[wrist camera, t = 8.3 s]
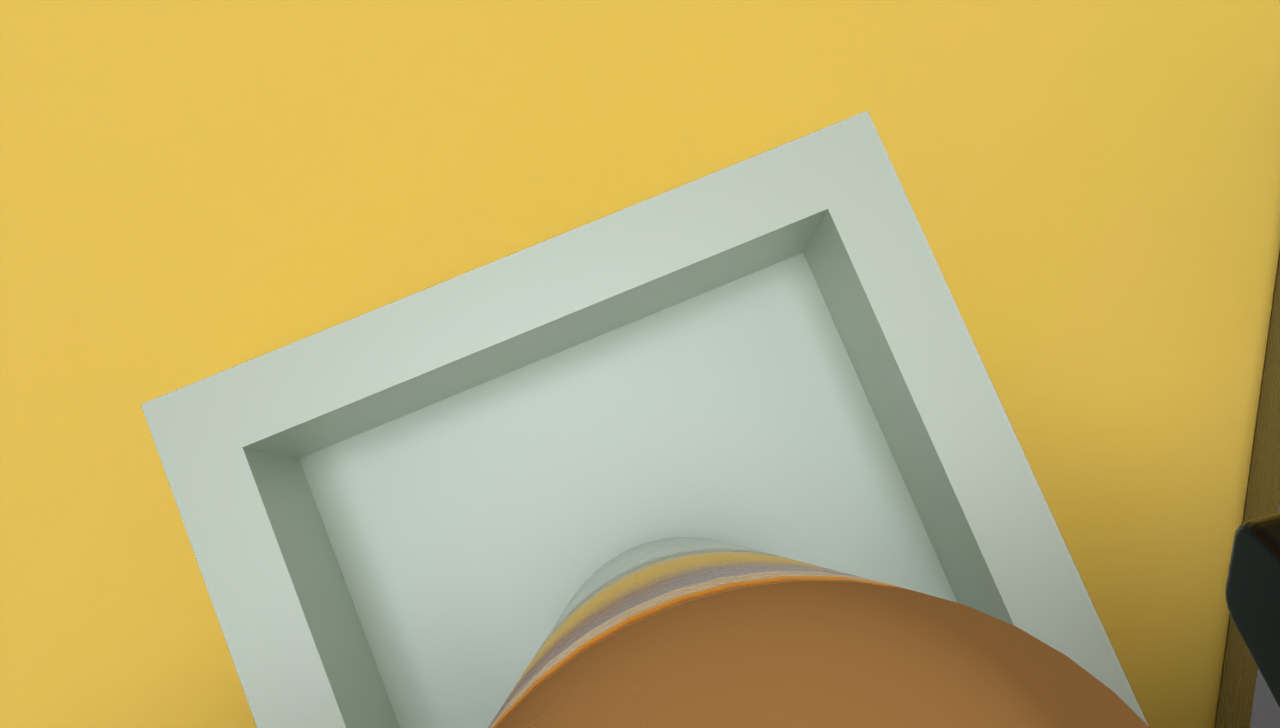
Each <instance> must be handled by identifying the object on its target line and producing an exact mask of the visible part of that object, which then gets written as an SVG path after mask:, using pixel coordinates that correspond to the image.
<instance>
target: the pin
mask: <svg viewBox="0 0 1280 728" xmlns="http://www.w3.org/2000/svg"><path fill="white" fill-rule="evenodd" d="M488 728H1150V727H1149V726H1148V725H1147V724H1146V723H1145V722H1144V721H1143V720H1142V719H1141V718H1140V717H1139V716H1138V715H1137V714H1136V713H1135V712H1134V711H1133V710H1132V709H1131V708H1130V707H1129V706H1128V705H1127V704H1126V703H1125V702H1124V701H1123V700H1122V699H1121V698H1120V697H1119V696H1118V695H1117V694H1116V693H1114V692H1113V691H1112V690H1111V689H1109V688H1108V687H1107V686H1105V685H1104V684H1103V683H1101V682H1100V681H1099V680H1098V679H1096V678H1095V677H1094V676H1092V675H1091V674H1090V673H1088V672H1087V671H1086V670H1085V669H1083V668H1082V667H1081V666H1079V665H1078V664H1077V663H1076V662H1074V661H1073V660H1072V659H1070V658H1069V657H1068V656H1066V655H1064V654H1063V653H1061V652H1059V651H1057V650H1056V649H1054V648H1052V647H1051V646H1049V645H1047V644H1045V643H1044V642H1042V641H1040V640H1039V639H1037V638H1035V637H1033V636H1032V635H1030V634H1028V633H1027V632H1025V631H1023V630H1022V629H1020V628H1018V627H1016V626H1014V625H1011V624H1009V623H1007V622H1004V621H1002V620H999V619H997V618H995V617H992V616H990V615H988V614H985V613H983V612H981V611H978V610H976V609H973V608H971V607H969V606H966V605H964V604H960V603H957V602H953V601H950V600H946V599H942V598H939V597H935V596H931V595H928V594H924V593H921V592H917V591H913V590H910V589H906V588H902V587H898V586H894V585H890V584H886V583H883V582H879V581H875V580H871V579H867V578H863V577H859V576H855V575H851V574H847V573H843V572H839V571H836V570H832V569H828V568H824V567H820V566H816V565H812V564H808V563H804V562H800V561H796V560H793V559H789V558H785V557H781V556H777V555H773V554H769V553H765V552H761V551H757V550H753V549H749V548H746V547H742V546H738V545H734V544H730V543H726V542H722V541H718V540H714V539H706V538H699V537H676V538H668V539H660V540H657V541H653V542H649V543H645V544H642V545H640V546H637V547H635V548H632V549H630V550H627V551H625V552H624V553H622V554H620V555H618V556H617V557H615V558H613V559H611V560H610V561H609V562H607V563H606V564H605V565H603V566H602V567H601V568H599V569H598V570H597V571H596V572H595V573H594V574H593V575H592V576H591V577H590V578H589V579H588V580H587V581H586V582H585V583H584V584H583V585H582V586H581V587H580V589H579V590H578V591H577V592H576V594H575V595H574V596H573V598H572V599H571V600H570V602H569V603H568V605H567V607H566V608H565V610H564V611H563V613H562V614H561V616H560V617H559V619H558V620H557V622H556V624H555V625H554V627H553V628H552V630H551V631H550V633H549V634H548V636H547V637H546V639H545V641H544V642H543V644H542V645H541V647H540V648H539V650H538V651H537V653H536V654H535V656H534V658H533V659H532V661H531V662H530V664H529V665H528V667H527V668H526V670H525V671H524V673H523V675H522V676H521V678H520V679H519V681H518V682H517V684H516V685H515V687H514V688H513V690H512V692H511V693H510V695H509V696H508V698H507V699H506V701H505V702H504V704H503V705H502V707H501V709H500V710H499V712H498V713H497V715H496V716H495V718H494V719H493V721H492V722H491V724H490V726H489V727H488Z"/></svg>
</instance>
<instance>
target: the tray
mask: <svg viewBox="0 0 1280 728" xmlns="http://www.w3.org/2000/svg"><path fill="white" fill-rule="evenodd" d="M141 406H142V409H143V412H144V415H145V418H146V420H147V423H148V426H149V429H150V431H151V434H152V437H153V440H154V443H155V445H156V448H157V451H158V454H159V456H160V459H161V462H162V465H163V468H164V470H165V473H166V476H167V479H168V481H169V484H170V487H171V490H172V493H173V495H174V498H175V501H176V504H177V506H178V509H179V512H180V515H181V518H182V520H183V523H184V526H185V529H186V531H187V534H188V537H189V540H190V543H191V545H192V548H193V551H194V554H195V556H196V559H197V562H198V565H199V568H200V570H201V573H202V576H203V579H204V581H205V584H206V587H207V590H208V593H209V595H210V598H211V601H212V604H213V606H214V609H215V612H216V615H217V617H218V620H219V623H220V626H221V629H222V631H223V634H224V637H225V640H226V642H227V645H228V648H229V651H230V654H231V656H232V659H233V662H234V665H235V667H236V670H237V673H238V676H239V679H240V681H241V684H242V687H243V690H244V692H245V695H246V698H247V701H248V704H249V706H250V709H251V712H252V715H253V717H254V720H255V723H256V726H257V728H488V727H489V726H490V724H491V722H492V721H493V719H494V718H495V716H496V715H497V713H498V712H499V710H500V709H501V707H502V705H503V704H504V702H505V701H506V699H507V698H508V696H509V695H510V693H511V692H512V690H513V688H514V687H515V685H516V684H517V682H518V681H519V679H520V678H521V676H522V675H523V673H524V671H525V670H526V668H527V667H528V665H529V664H530V662H531V661H532V659H533V658H534V656H535V654H536V653H537V651H538V650H539V648H540V647H541V645H542V644H543V642H544V641H545V639H546V637H547V636H548V634H549V633H550V631H551V630H552V628H553V627H554V625H555V624H556V622H557V620H558V619H559V617H560V616H561V614H562V613H563V611H564V610H565V608H566V607H567V605H568V603H569V602H570V600H571V599H572V598H573V596H574V595H575V594H576V592H577V591H578V590H579V589H580V587H581V586H582V585H583V584H584V583H585V582H586V581H587V580H588V579H589V578H590V577H591V576H592V575H593V574H594V573H595V572H596V571H597V570H598V569H599V568H601V567H602V566H603V565H605V564H606V563H607V562H609V561H610V560H611V559H613V558H615V557H617V556H618V555H620V554H622V553H624V552H625V551H627V550H630V549H632V548H635V547H637V546H640V545H642V544H645V543H649V542H653V541H657V540H660V539H668V538H676V537H699V538H706V539H714V540H718V541H722V542H726V543H730V544H734V545H738V546H742V547H746V548H749V549H753V550H757V551H761V552H765V553H769V554H773V555H777V556H781V557H785V558H789V559H793V560H796V561H800V562H804V563H808V564H812V565H816V566H820V567H824V568H828V569H832V570H836V571H839V572H843V573H847V574H851V575H855V576H859V577H863V578H867V579H871V580H875V581H879V582H883V583H886V584H890V585H894V586H898V587H902V588H906V589H910V590H913V591H917V592H921V593H924V594H928V595H931V596H935V597H939V598H942V599H946V600H950V601H953V602H957V603H960V604H964V605H966V606H969V607H971V608H973V609H976V610H978V611H981V612H983V613H985V614H988V615H990V616H992V617H995V618H997V619H999V620H1002V621H1004V622H1007V623H1009V624H1011V625H1014V626H1016V627H1018V628H1020V629H1022V630H1023V631H1025V632H1027V633H1028V634H1030V635H1032V636H1033V637H1035V638H1037V639H1039V640H1040V641H1042V642H1044V643H1045V644H1047V645H1049V646H1051V647H1052V648H1054V649H1056V650H1057V651H1059V652H1061V653H1063V654H1064V655H1066V656H1068V657H1069V658H1070V659H1072V660H1073V661H1074V662H1076V663H1077V664H1078V665H1079V666H1081V667H1082V668H1083V669H1085V670H1086V671H1087V672H1088V673H1090V674H1091V675H1092V676H1094V677H1095V678H1096V679H1098V680H1099V681H1100V682H1101V683H1103V684H1104V685H1105V686H1107V687H1108V688H1109V689H1111V690H1112V691H1113V692H1114V693H1116V694H1117V695H1118V696H1119V697H1120V698H1121V699H1122V700H1123V701H1124V702H1125V703H1126V704H1127V705H1128V706H1129V707H1130V708H1131V709H1132V710H1133V711H1134V712H1135V713H1136V714H1137V715H1138V716H1139V717H1140V718H1141V719H1142V720H1143V721H1144V722H1145V723H1146V724H1147V722H1146V719H1145V717H1144V715H1143V713H1142V711H1141V708H1140V706H1139V704H1138V702H1137V700H1136V697H1135V695H1134V693H1133V691H1132V689H1131V686H1130V684H1129V682H1128V680H1127V678H1126V676H1125V673H1124V671H1123V669H1122V667H1121V665H1120V662H1119V660H1118V658H1117V656H1116V654H1115V651H1114V649H1113V647H1112V645H1111V643H1110V640H1109V638H1108V636H1107V634H1106V632H1105V630H1104V627H1103V625H1102V623H1101V621H1100V619H1099V616H1098V614H1097V612H1096V610H1095V608H1094V605H1093V603H1092V601H1091V599H1090V597H1089V594H1088V592H1087V590H1086V588H1085V586H1084V584H1083V581H1082V579H1081V577H1080V575H1079V573H1078V570H1077V568H1076V566H1075V564H1074V562H1073V559H1072V557H1071V555H1070V553H1069V551H1068V548H1067V546H1066V544H1065V542H1064V540H1063V538H1062V535H1061V533H1060V531H1059V529H1058V527H1057V524H1056V522H1055V520H1054V518H1053V516H1052V513H1051V511H1050V509H1049V507H1048V505H1047V502H1046V500H1045V498H1044V496H1043V494H1042V492H1041V489H1040V487H1039V485H1038V483H1037V481H1036V478H1035V476H1034V474H1033V472H1032V470H1031V467H1030V465H1029V463H1028V461H1027V459H1026V457H1025V454H1024V452H1023V450H1022V448H1021V446H1020V443H1019V441H1018V439H1017V437H1016V435H1015V432H1014V430H1013V428H1012V426H1011V424H1010V421H1009V419H1008V417H1007V415H1006V413H1005V411H1004V408H1003V406H1002V404H1001V402H1000V400H999V397H998V395H997V393H996V391H995V389H994V386H993V384H992V382H991V380H990V378H989V375H988V373H987V371H986V369H985V367H984V365H983V362H982V360H981V358H980V356H979V354H978V351H977V349H976V347H975V345H974V343H973V340H972V338H971V336H970V334H969V332H968V329H967V327H966V325H965V323H964V321H963V319H962V316H961V314H960V312H959V310H958V308H957V305H956V303H955V301H954V299H953V297H952V294H951V292H950V290H949V288H948V286H947V283H946V281H945V279H944V277H943V275H942V273H941V270H940V268H939V266H938V264H937V262H936V259H935V257H934V255H933V253H932V251H931V248H930V246H929V244H928V242H927V240H926V237H925V235H924V233H923V231H922V229H921V227H920V224H919V222H918V220H917V218H916V216H915V213H914V211H913V209H912V207H911V205H910V202H909V200H908V198H907V196H906V194H905V192H904V189H903V187H902V185H901V183H900V181H899V178H898V176H897V174H896V172H895V170H894V167H893V165H892V163H891V161H890V159H889V156H888V154H887V152H886V150H885V148H884V146H883V143H882V141H881V139H880V137H879V135H878V132H877V130H876V128H875V126H874V124H873V121H872V119H871V117H870V115H869V113H868V111H865V112H863V113H860V114H858V115H855V116H853V117H850V118H848V119H846V120H843V121H841V122H838V123H836V124H833V125H831V126H828V127H826V128H823V129H821V130H818V131H816V132H813V133H811V134H808V135H806V136H803V137H801V138H799V139H796V140H794V141H791V142H789V143H786V144H784V145H781V146H779V147H776V148H774V149H771V150H769V151H766V152H764V153H761V154H759V155H757V156H754V157H752V158H749V159H747V160H744V161H742V162H739V163H737V164H734V165H732V166H729V167H727V168H724V169H722V170H719V171H717V172H714V173H712V174H710V175H707V176H705V177H702V178H700V179H697V180H695V181H692V182H690V183H687V184H685V185H682V186H680V187H677V188H675V189H672V190H670V191H667V192H665V193H663V194H660V195H658V196H655V197H653V198H650V199H648V200H645V201H643V202H640V203H638V204H635V205H633V206H630V207H628V208H625V209H623V210H620V211H618V212H616V213H613V214H611V215H608V216H606V217H603V218H601V219H598V220H596V221H593V222H591V223H588V224H586V225H583V226H581V227H578V228H576V229H573V230H571V231H569V232H566V233H564V234H561V235H559V236H556V237H554V238H551V239H549V240H546V241H544V242H541V243H539V244H536V245H534V246H531V247H529V248H527V249H524V250H522V251H519V252H517V253H514V254H512V255H509V256H507V257H504V258H502V259H499V260H497V261H494V262H492V263H489V264H487V265H484V266H482V267H480V268H477V269H475V270H472V271H470V272H467V273H465V274H462V275H460V276H457V277H455V278H452V279H450V280H447V281H445V282H442V283H440V284H437V285H435V286H433V287H430V288H428V289H425V290H423V291H420V292H418V293H415V294H413V295H410V296H408V297H405V298H403V299H400V300H398V301H395V302H393V303H390V304H388V305H386V306H383V307H381V308H378V309H376V310H373V311H371V312H368V313H366V314H363V315H361V316H358V317H356V318H353V319H351V320H348V321H346V322H343V323H341V324H339V325H336V326H334V327H331V328H329V329H326V330H324V331H321V332H319V333H316V334H314V335H311V336H309V337H306V338H304V339H301V340H299V341H296V342H294V343H292V344H289V345H287V346H284V347H282V348H279V349H277V350H274V351H272V352H269V353H267V354H264V355H262V356H259V357H257V358H254V359H252V360H250V361H247V362H245V363H242V364H240V365H237V366H235V367H232V368H230V369H227V370H225V371H222V372H220V373H217V374H215V375H212V376H210V377H207V378H205V379H203V380H200V381H198V382H195V383H193V384H190V385H188V386H185V387H183V388H180V389H178V390H175V391H173V392H170V393H168V394H165V395H163V396H160V397H158V398H156V399H153V400H151V401H148V402H146V403H143V404H141ZM1147 725H1148V724H1147Z"/></svg>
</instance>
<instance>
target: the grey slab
mask: <svg viewBox="0 0 1280 728" xmlns="http://www.w3.org/2000/svg"><path fill="white" fill-rule="evenodd" d="M1276 513H1280V258H1279V265H1278V273H1277V280H1276V287H1275V295H1274V302H1273V309H1272V316H1271V324H1270V331H1269V338H1268V346H1267V353H1266V360H1265V368H1264V375H1263V382H1262V390H1261V397H1260V404H1259V412H1258V419H1257V426H1256V434H1255V441H1254V448H1253V456H1252V463H1251V470H1250V478H1249V485H1248V492H1247V500H1246V507H1245V514H1244V521H1243V523H1244V522H1246V521H1249V520H1253V519H1257V518H1261V517H1264V516H1268V515H1272V514H1276ZM1215 728H1280V709H1279V707H1278V705H1277V703H1276V701H1275V699H1274V697H1273V695H1272V693H1271V691H1270V690H1269V688H1268V686H1267V684H1266V682H1265V680H1264V678H1263V676H1262V674H1261V673H1260V671H1259V669H1258V667H1257V665H1256V663H1255V661H1254V659H1253V657H1252V656H1251V654H1250V652H1249V650H1248V648H1247V646H1246V644H1245V642H1244V640H1243V639H1242V637H1241V635H1240V633H1239V631H1238V629H1237V627H1236V625H1235V623H1234V621H1233V619H1232V617H1230V624H1229V631H1228V639H1227V646H1226V653H1225V661H1224V668H1223V675H1222V683H1221V690H1220V697H1219V705H1218V712H1217V719H1216V726H1215Z"/></svg>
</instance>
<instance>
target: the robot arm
mask: <svg viewBox="0 0 1280 728" xmlns="http://www.w3.org/2000/svg"><path fill="white" fill-rule="evenodd" d="M1226 601H1227V605H1228V609H1229V612H1230V615H1231V617H1232V619H1233V621H1234V623H1235V625H1236V627H1237V629H1238V631H1239V633H1240V635H1241V637H1242V639H1243V640H1244V642H1245V644H1246V646H1247V648H1248V650H1249V652H1250V654H1251V656H1252V657H1253V659H1254V661H1255V663H1256V665H1257V667H1258V669H1259V671H1260V673H1261V674H1262V676H1263V678H1264V680H1265V682H1266V684H1267V686H1268V688H1269V690H1270V691H1271V693H1272V695H1273V697H1274V699H1275V701H1276V703H1277V705H1278V707H1279V709H1280V513H1276V514H1272V515H1268V516H1264V517H1261V518H1257V519H1253V520H1249V521H1246V522H1244V523H1242V524H1241V525H1240V526H1239V528H1238V529H1237V530H1236V533H1235V536H1234V542H1233V548H1232V554H1231V560H1230V566H1229V572H1228V578H1227V584H1226Z"/></svg>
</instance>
